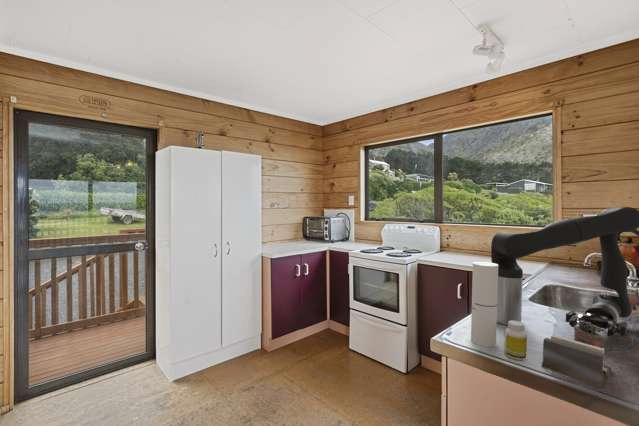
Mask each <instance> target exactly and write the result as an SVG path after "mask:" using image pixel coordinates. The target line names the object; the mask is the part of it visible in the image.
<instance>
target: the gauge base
mask: <svg viewBox="0 0 639 426" xmlns="http://www.w3.org/2000/svg"><path fill="white" fill-rule="evenodd" d="M542 345H543V346H542V349H543V350H542V362H541V367H542V368H544V369H547V370H550V371H552V372H556V373H558V374H562V375H565V376H568V377H571V378H574V379H576V380H579V381H581V382H584V383H587V384H590V385H593V386H596V387H599V388H603V386H604V384H605V383H606V380H607V378H608V377H609V375H610V373H611V370H612V367H610V366H608V365H604V371H606V374H604V373H603V360H604V361H605V353H604V354H602V353H599V352H595V351H591V350H588V349H584V348H581V347H577V346H574V345H570V344H567V343H563V342H560V341H556V340H553V339H551V338H548V337H545V338H544V339H543V344H542Z"/></svg>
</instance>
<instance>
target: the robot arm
mask: <svg viewBox="0 0 639 426" xmlns="http://www.w3.org/2000/svg"><path fill="white" fill-rule="evenodd" d="M638 229H639V210H638V209H636V208H634V207H632V206H631V207H630V206H618V207H617V206H616V207H609V208H605V209H602V210H601V211H600V212H599V214H598V215H588V216H578V217H570V218H565V219H562V220H557V221H554V222H553V221H552V222H551V223H550V222H549V223H548V224H547V225H545V226H544V227H542V228H540V229H539V230H535V231H530V232H529V231H528V232H521V233H520V232H511V231H499V232H497V233H496V234H494V236H493V237H492V240H491V244H490V245H491V246H490V248H491V249H490V250H491V251H490V253H491V254H490V255H491V256H490V258H491V260H490V262H491V263H496V264H498V295H497V324H500V325H505V326H508V321H511V320H513V321H519V322H522V307H523V281H524V280H523V278H524V277H523V276H524V274H523V273H524V272H523V271H524V270H523V268H522V267H521V266H520V265H519V263H518V262H517V259H521V258H524V257H527V256H530V255H533V254H536V253H538V252H542V251H546V250H551V249H556V248H561V247H566V246H567V247H568V246H570V245H571V246H572V245H576V244H579V243H582V242H587V241H590V240H593V239H596V238H598V239H599V243H600V253H601V269H600V270H601V271H600V285H601V287H603V288H606V289H610V290H612V291H614V292H616V294H617V296H616V295H611V294H604V293H599V294H595V295H594V296H593V298H592V305H590V306H589V307H588V308H587V309H586V310H585V311H584V313H576V311H575V310H570V311H568V312H567V313H565V322H566V323H568V324H569V326H570V327H571V328H574V326H579V320H581V321H584V322H591V324H592V325H595V326H597V327H600V332H606V333H607V336H608V337H612V336H615V335H617V334H619V335H620V336H623V337H626V336H627V333H628V332H627V331H628V322H626V321H622V322H619V323H618V321H619V318H625V319H626V318H629V316H631V315H632V313H633V307H632V304H631V300H630V296H629V293H628V287H627V286H628V285H627V284H628V282H627V281H628V264H627V262H626V259H625V258H624V256H623V253H622V252H621V250H620V246H619V241H618V239H619V238H618V237H619V234H620V233H629V232H634V231H636V230H638Z"/></svg>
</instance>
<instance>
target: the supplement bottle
mask: <svg viewBox="0 0 639 426" xmlns="http://www.w3.org/2000/svg"><path fill="white" fill-rule="evenodd" d="M527 343H528V334H527V332H526V331H525V323H524V322H523V321H521V322H519V321H513V320H511V321H508V325H507V328H505V331H504V355H505V356H506V357H508V358H509V359H512V360H514V361H515V360H516V361H524V360H526V359H527V346H528V344H527Z"/></svg>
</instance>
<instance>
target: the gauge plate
mask: <svg viewBox="0 0 639 426" xmlns="http://www.w3.org/2000/svg"><path fill="white" fill-rule="evenodd" d="M550 339H553V340H556V341H560V342H563V343H567V344H570V345H574V346H577V347H581V348H584V349H588V350H591V351H595V352H599V353H602V354H604V355H605V348H603V347H602V348H600V347H596V346H592V345H589V344H585V343H581V342H578V341H574V339H570V338H567V337H566V338H565V337H564V336H559V335H556V334H552V335H550ZM604 364H605V359H604V360H603V373H604V374H606V371H604V366H605V365H604Z"/></svg>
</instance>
